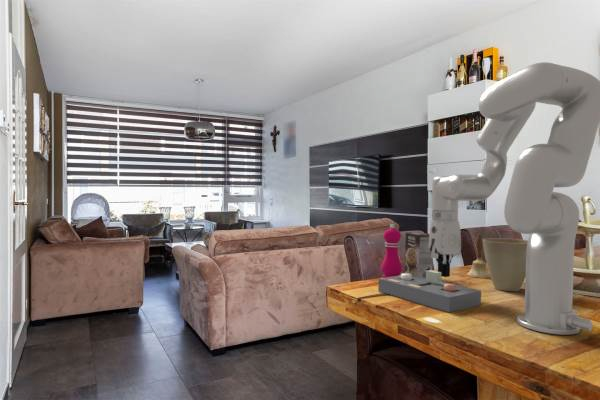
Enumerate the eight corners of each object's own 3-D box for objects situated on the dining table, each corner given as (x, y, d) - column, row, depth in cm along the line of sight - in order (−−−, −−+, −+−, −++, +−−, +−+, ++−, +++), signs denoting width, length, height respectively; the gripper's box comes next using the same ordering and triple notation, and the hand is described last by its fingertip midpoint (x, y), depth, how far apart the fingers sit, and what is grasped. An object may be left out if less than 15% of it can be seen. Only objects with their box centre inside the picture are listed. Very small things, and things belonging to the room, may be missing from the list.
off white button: (413, 281, 125) (413, 274, 125) (406, 282, 124) (406, 275, 124) (405, 279, 128) (405, 273, 128) (398, 280, 126) (398, 274, 126)
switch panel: (480, 304, 112) (481, 289, 112) (448, 312, 105) (449, 296, 104) (409, 286, 134) (409, 273, 134) (378, 291, 126) (378, 277, 126)
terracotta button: (458, 292, 112) (458, 285, 112) (451, 294, 110) (451, 286, 110) (448, 290, 115) (448, 282, 115) (441, 291, 113) (441, 284, 113)
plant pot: (530, 286, 135) (531, 239, 135) (535, 296, 122) (536, 244, 121) (481, 281, 141) (482, 236, 141) (481, 291, 128) (482, 241, 128)
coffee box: (404, 274, 153) (404, 232, 153) (418, 273, 155) (419, 231, 155) (417, 279, 144) (418, 234, 144) (433, 278, 146) (434, 234, 146)
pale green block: (441, 293, 120) (441, 272, 120) (436, 294, 119) (437, 273, 118) (430, 290, 123) (430, 270, 123) (425, 291, 122) (426, 270, 122)
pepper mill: (402, 283, 138) (403, 225, 137) (381, 282, 139) (381, 224, 139) (401, 278, 145) (402, 223, 144) (381, 277, 146) (381, 223, 146)
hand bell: (495, 278, 148) (496, 235, 147) (472, 278, 148) (473, 235, 147) (484, 273, 156) (485, 232, 156) (463, 273, 156) (464, 232, 156)
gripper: (438, 217, 116) (437, 281, 116) (470, 216, 124) (469, 275, 124) (418, 216, 122) (417, 276, 122) (450, 215, 130) (448, 271, 130)
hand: (443, 275), depth 123 cm, fingers closed
